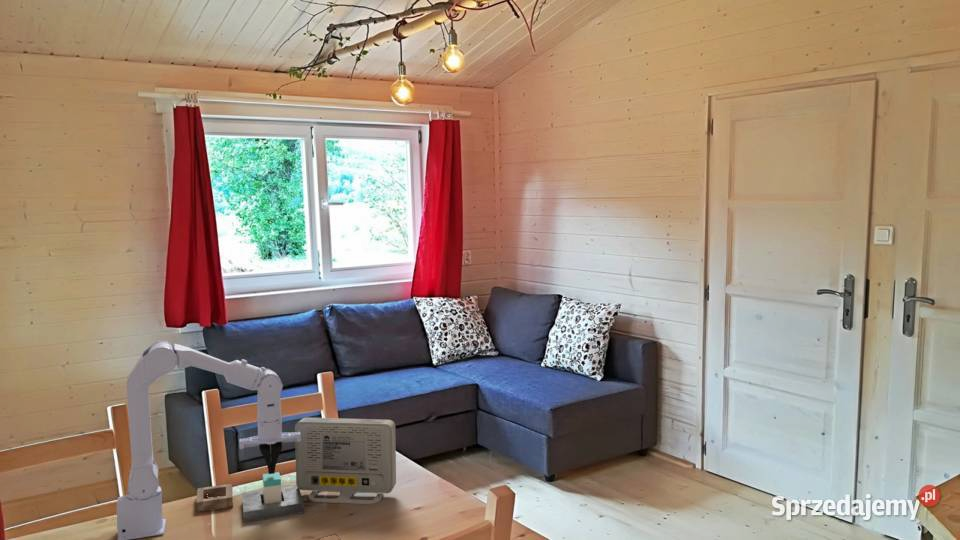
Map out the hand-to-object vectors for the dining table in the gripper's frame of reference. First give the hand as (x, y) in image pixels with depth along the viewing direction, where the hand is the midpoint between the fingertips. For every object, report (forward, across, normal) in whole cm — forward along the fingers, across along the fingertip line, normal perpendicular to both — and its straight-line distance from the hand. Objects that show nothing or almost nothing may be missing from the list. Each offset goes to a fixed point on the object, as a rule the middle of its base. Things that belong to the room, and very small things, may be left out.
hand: (271, 472), depth 171 cm
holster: (+9, -14, +9) cm, 19 cm away
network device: (+9, +18, 0) cm, 21 cm away
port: (+9, 0, 0) cm, 9 cm away
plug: (+9, 0, 0) cm, 9 cm away
